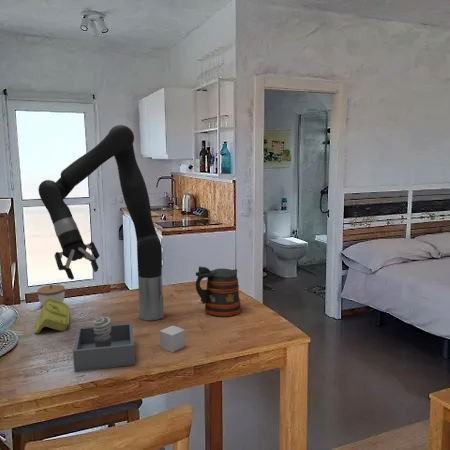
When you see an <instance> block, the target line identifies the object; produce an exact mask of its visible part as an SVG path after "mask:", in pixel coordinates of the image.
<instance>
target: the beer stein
mask: <svg viewBox="0 0 450 450" xmlns="http://www.w3.org/2000/svg"><path fill="white" fill-rule="evenodd" d="M195 276H196V277H197V278H196V281H195V290H196V293H197V294H198V297H200V302H201V303H202V304H203V305H204V311H205V312H206V314H209V315H211V316H215V317H232V316H236V315H237V314H239V313H240V312H241V310H242V309H241V299H240V293H239V288H240V287H239V286H240V285H239V278H238V269H237V268H235V269H234V268H233V269H229V268H216V269H212V270H210V269H209V268H208V267H205V266H198V271H197V272H195ZM206 278H207V280H206V281H207V282H206V289H203V288H202V287H201V281H202V280H203V279H206Z"/></svg>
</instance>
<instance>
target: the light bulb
mask: <svg viewBox="0 0 450 450" xmlns="http://www.w3.org/2000/svg"><path fill="white" fill-rule="evenodd" d="M111 325H112V322H111V318H110V317H108V316H99V317H98V319H95V320H93V326H92V327H94V329H93V330H94V333H95V334H100V335H97V336H96V337H95V346H96V347H97V348H98V347H108V346H111V341H112V338H111V335H109V334H110V333H111ZM98 328H101V329H98ZM106 329H107V330H106ZM104 330H106V331H104ZM107 332H108V333H107Z"/></svg>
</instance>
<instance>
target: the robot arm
mask: <svg viewBox="0 0 450 450" xmlns="http://www.w3.org/2000/svg"><path fill="white" fill-rule="evenodd" d="M134 142H135V135H134V132H133V131H132V129H131V128H130V127H128V126H127V125H123V124H118V125H115V126H113V127H112V128H111V129H110V130H109V132H108V133H107V135H106V136H105V137H104V138H103V139H102V140H101V141H100V142H99V143H98V144H97V145H96V146H94V147H93V148H92V149H91V150H89V151H88V152H86V153H84V154H83V155H82V156H80V157H79V158H77V159H76V160H74V161H73V162H72V163H71V164H69V165H68V166H67V167H65V168H63V170H61V172H60V178H58V179H57V181H54V180H51V179H46V180H43V181H41V183H40V184H39V185H38V194H39V198H40V199H41V202H42V203H43V205H44V207H45V208H46V210H47V212H48V214H49V217H50V220H51V223H52V225H53V228H54V232H55V235H56V237H57V239H58V242H59V245H60V247H61V250H62V251H56V252H55V253H54V259H55V263H56V266H57V269H58V271H65V273H66V276H67V279H69V280H71V281H72V280H74V279H75V277H74V274H73V271H72V269H71V268H70V266H71V263H72V262H75V261H78V260H83V259H85V260H88V261H89V262H90V264H91V267H92V270H93V272H94V273H96V272H98V269H99V265H98V263H97V259H99V257H100V253H99V251H98V249H97V247H96V245H95V242H93V241H91V242H90V243H87V244H86V243H84V240H83V237H82V235H81V232H80V230H79V228H78V225H77V223H76V221H75V219H74V217H73V214H72V212H71V209H70V208H69V206H68V205H67V203H66V202H65V200H64V199H66V198H67V197H68V195H69V194H70V193H72V191H73V190H74V189H75V187H76V186H78V185H79V184H80V183H82V182H83V181H84V180H85V179H86V178H88V177H89V176H91V175H92V174H93V173H94V172H95V171H96V170H98V168H99V167H101V166H102V165H103V164H104V163H106V162H107V161H109V160H110V159H111V158H113V157H114V159H115V162H116V166H117V171H118V179H119V185H120V188H121V194H122V197H123V200H124V204H125V206H126V209H127V212H128V214H129V216H130V219H131V220H132V222H133V226H134V232H135V236H136V255H137V260H136V261H137V278H138V279H137V281H138V283H137V284H138V285H137V286H138V303H139V305H138V306H139V307H138V309H139V312H138V313H139V319H140V320H142V321H146V322H147V321H157V320H160V319H164V315H165V313H164V312H165V311H164V308H165V307H164V294H163V254H162V253H163V252H162V243H161V240H160V237H159V235H158V233H157V230H156V227H155V225H154V221H153V218H152V210H151V209H152V208H151V202H150V197H149V193H148V189H147V184H146V181H145V179H144V176H143V173H142V172H141V169H140V167H139V164H138V162H137V158H136V154H135V149H134ZM87 249H88V250H89V251H90V252H91V253H92V254H91V253H89V252H88V251H87ZM63 257H65V258H66V262H65V264H63V261H62V258H63Z"/></svg>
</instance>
